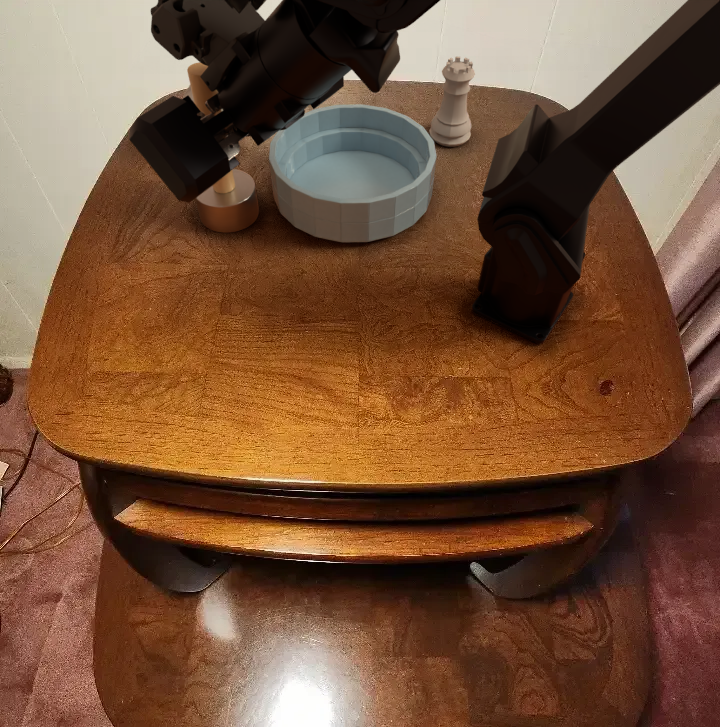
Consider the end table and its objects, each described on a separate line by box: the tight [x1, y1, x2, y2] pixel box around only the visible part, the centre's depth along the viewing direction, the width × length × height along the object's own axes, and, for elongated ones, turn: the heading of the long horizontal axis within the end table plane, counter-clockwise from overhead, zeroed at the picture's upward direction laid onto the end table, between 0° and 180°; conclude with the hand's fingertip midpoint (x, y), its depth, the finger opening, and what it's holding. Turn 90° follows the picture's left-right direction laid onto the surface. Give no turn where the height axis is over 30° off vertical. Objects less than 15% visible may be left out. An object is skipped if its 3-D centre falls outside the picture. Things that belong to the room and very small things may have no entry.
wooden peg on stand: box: [186, 61, 260, 234], centre depth 53 cm, size 6×6×14 cm
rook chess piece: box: [429, 56, 476, 148], centre depth 63 cm, size 4×4×8 cm
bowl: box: [268, 103, 437, 243], centre depth 59 cm, size 15×15×5 cm
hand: (205, 146), depth 54 cm, fingers open, 4 cm apart
